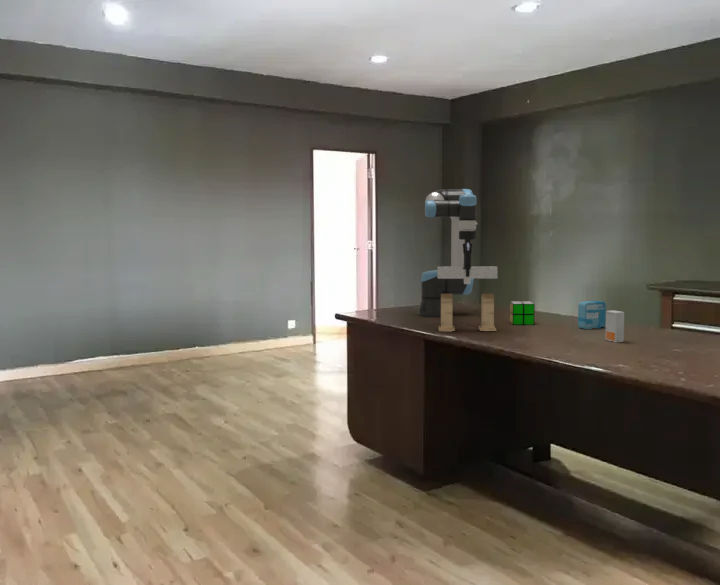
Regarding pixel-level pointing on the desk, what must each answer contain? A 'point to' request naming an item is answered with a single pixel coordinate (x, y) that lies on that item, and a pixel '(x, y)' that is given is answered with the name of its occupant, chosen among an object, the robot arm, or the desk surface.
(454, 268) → the rail
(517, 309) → the puzzle cube
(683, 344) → the desk surface
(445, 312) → the post
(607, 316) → the skincare box
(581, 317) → the data package
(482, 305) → the post
